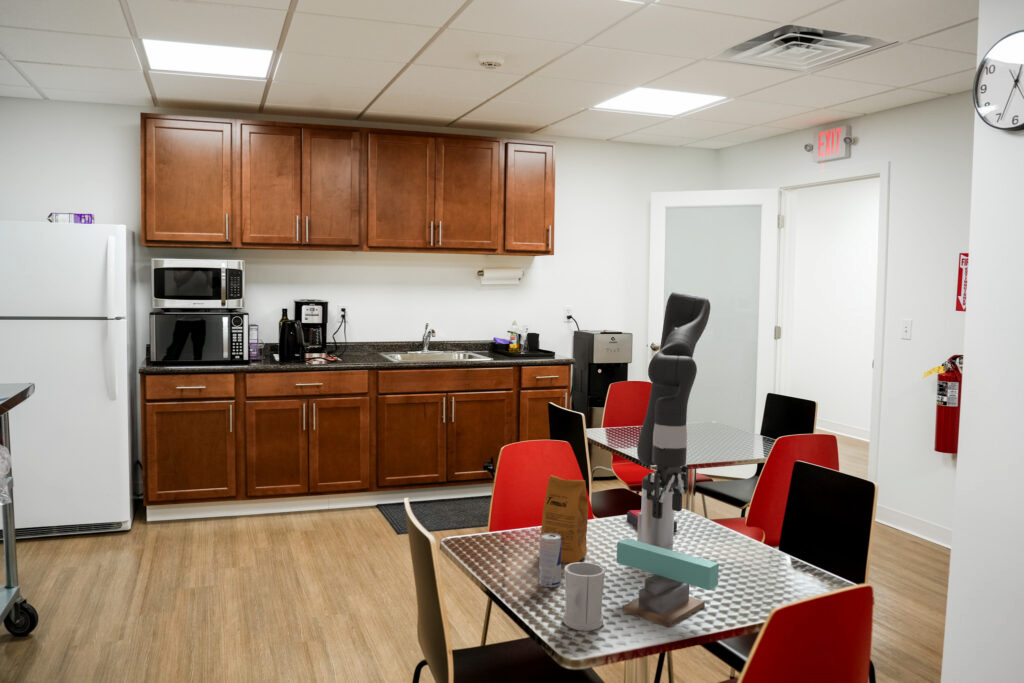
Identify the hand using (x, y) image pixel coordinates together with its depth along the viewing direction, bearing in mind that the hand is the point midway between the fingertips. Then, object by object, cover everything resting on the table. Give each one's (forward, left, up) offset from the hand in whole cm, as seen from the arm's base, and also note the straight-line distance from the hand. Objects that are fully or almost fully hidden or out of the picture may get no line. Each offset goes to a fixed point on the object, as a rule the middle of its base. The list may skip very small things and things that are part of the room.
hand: (667, 514), depth 175 cm
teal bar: (0, 0, -14) cm, 14 cm away
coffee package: (-38, +11, -22) cm, 45 cm away
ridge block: (0, 0, -22) cm, 22 cm away
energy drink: (-28, -7, -22) cm, 36 cm away
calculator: (-37, +54, -23) cm, 69 cm away
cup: (-8, -20, -22) cm, 31 cm away
